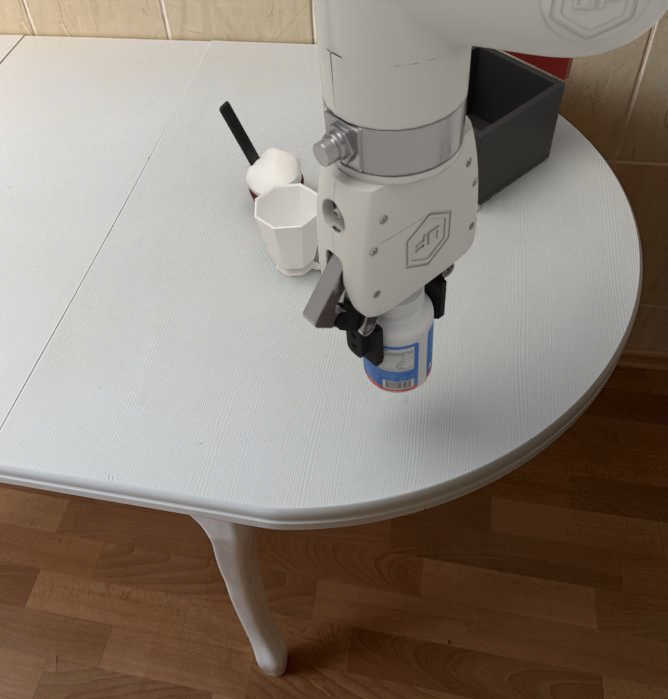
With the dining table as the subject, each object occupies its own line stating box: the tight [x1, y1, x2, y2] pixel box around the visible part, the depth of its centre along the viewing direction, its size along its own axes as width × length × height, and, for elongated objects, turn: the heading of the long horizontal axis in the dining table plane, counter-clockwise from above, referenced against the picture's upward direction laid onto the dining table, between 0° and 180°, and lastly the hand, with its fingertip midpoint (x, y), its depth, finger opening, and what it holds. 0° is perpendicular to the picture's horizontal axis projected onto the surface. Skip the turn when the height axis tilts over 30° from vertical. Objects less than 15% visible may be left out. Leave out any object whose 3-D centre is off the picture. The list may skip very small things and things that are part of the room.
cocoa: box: [218, 100, 305, 202], centre depth 77 cm, size 10×6×12 cm, turn 38°
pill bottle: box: [362, 286, 435, 394], centre depth 52 cm, size 6×5×10 cm
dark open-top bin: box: [466, 46, 566, 206], centre depth 81 cm, size 14×13×10 cm
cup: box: [253, 183, 321, 278], centre depth 72 cm, size 7×10×8 cm
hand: (396, 328), depth 52 cm, fingers closed on pill bottle, 5 cm apart
